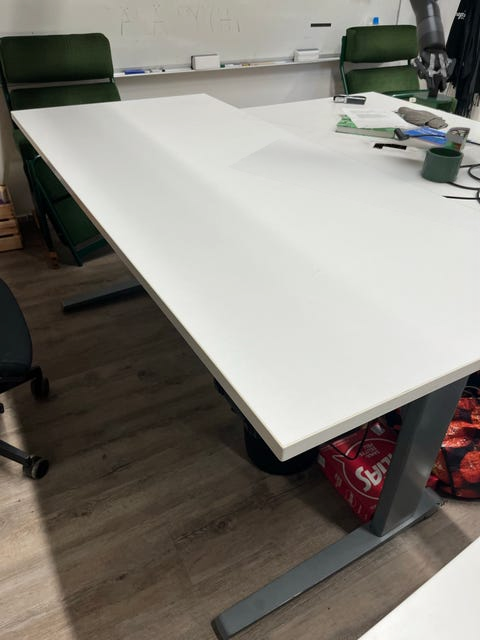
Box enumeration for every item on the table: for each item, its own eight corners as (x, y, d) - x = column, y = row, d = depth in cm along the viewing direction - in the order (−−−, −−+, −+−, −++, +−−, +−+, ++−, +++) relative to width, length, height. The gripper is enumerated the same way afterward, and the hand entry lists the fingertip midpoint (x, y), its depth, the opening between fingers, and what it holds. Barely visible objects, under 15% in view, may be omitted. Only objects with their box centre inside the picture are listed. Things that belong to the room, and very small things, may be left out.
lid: (451, 99, 148) (458, 73, 144) (449, 106, 140) (456, 79, 136) (414, 94, 151) (420, 69, 147) (410, 101, 143) (417, 75, 139)
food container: (442, 154, 164) (451, 124, 158) (460, 158, 161) (470, 127, 155) (434, 165, 155) (443, 133, 149) (453, 169, 153) (463, 137, 147)
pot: (456, 174, 149) (464, 150, 145) (455, 184, 141) (463, 159, 137) (422, 168, 152) (428, 144, 148) (419, 178, 144) (425, 154, 140)
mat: (408, 144, 173) (408, 143, 173) (404, 153, 165) (404, 152, 164) (377, 140, 176) (378, 139, 176) (372, 148, 168) (372, 147, 168)
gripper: (414, 28, 140) (421, 82, 138) (459, 29, 142) (466, 83, 139) (403, 46, 147) (409, 98, 145) (445, 47, 149) (452, 98, 147)
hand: (437, 90), depth 142 cm, fingers closed on lid, 3 cm apart
